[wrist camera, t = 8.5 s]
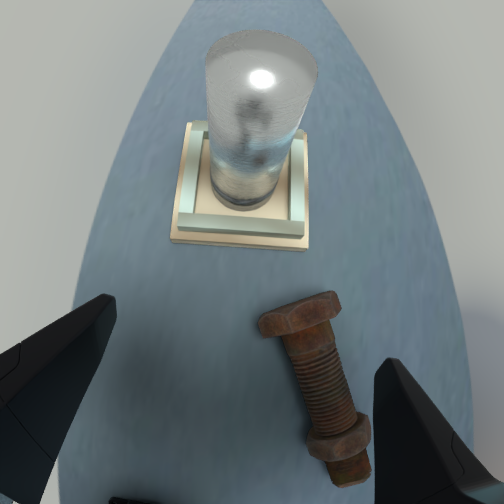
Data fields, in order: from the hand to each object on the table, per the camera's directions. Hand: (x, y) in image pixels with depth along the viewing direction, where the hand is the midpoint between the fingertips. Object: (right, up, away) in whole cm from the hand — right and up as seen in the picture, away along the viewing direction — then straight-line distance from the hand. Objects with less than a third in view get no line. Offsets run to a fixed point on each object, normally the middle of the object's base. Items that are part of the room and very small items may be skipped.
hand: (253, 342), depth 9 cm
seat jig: (-1, +8, +16) cm, 18 cm away
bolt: (+5, -8, +13) cm, 16 cm away
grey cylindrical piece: (-1, +8, +14) cm, 17 cm away
